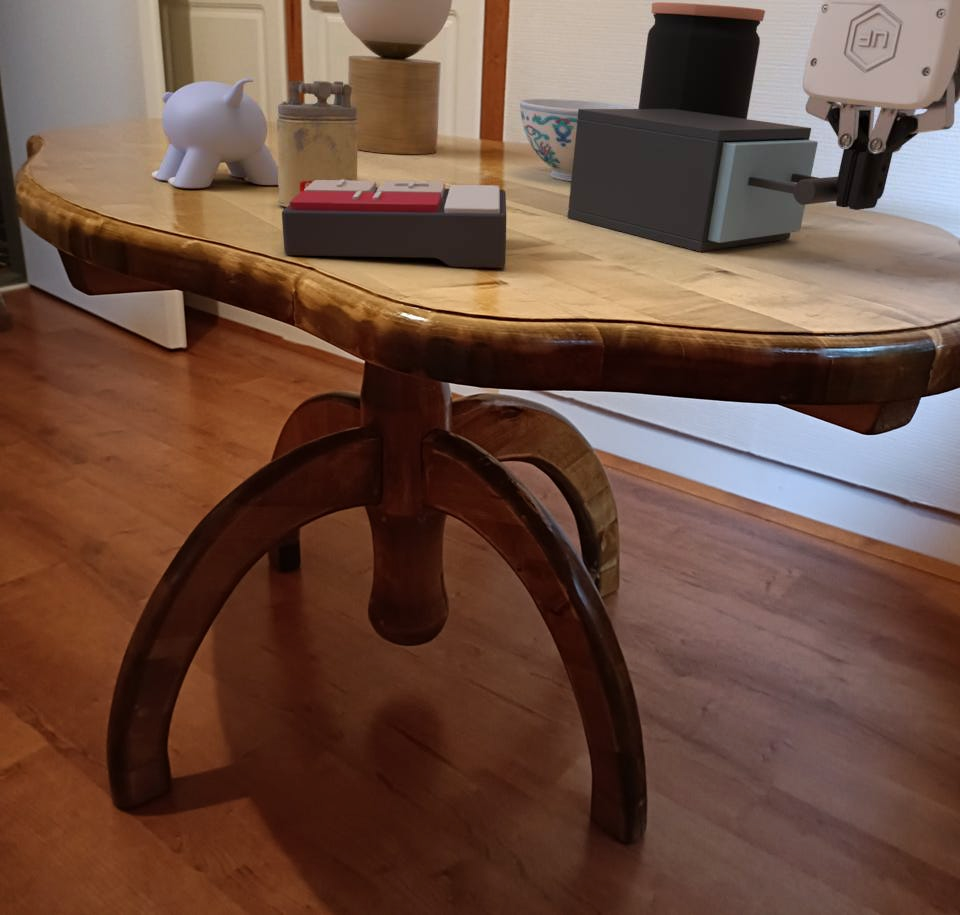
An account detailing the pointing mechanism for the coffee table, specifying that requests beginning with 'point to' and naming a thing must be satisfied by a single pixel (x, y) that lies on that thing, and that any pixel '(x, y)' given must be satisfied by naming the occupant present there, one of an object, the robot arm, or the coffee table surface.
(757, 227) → the grey drawer
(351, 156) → the lighter
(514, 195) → the coffee table surface
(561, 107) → the chinaware
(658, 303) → the coffee table surface
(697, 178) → the drawer cabinet
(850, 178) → the robot arm
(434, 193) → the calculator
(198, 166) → the hippopotamus toy
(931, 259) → the coffee table surface
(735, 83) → the coffee jar
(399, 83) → the lamp
